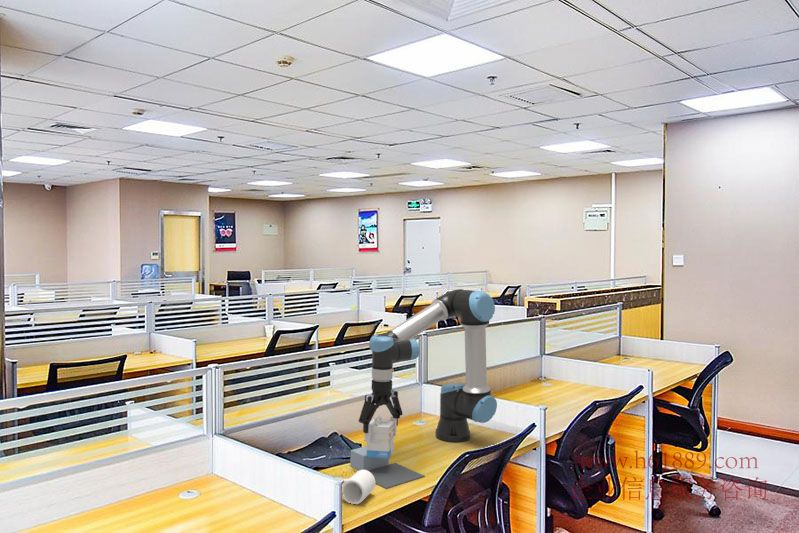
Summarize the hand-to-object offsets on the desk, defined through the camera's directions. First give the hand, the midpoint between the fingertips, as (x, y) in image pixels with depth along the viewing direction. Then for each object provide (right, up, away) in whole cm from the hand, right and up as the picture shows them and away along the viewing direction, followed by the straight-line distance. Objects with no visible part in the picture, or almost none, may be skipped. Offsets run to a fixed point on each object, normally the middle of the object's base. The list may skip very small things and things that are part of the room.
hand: (380, 438), depth 228 cm
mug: (-8, -13, -24) cm, 28 cm away
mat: (+4, -12, -4) cm, 14 cm away
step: (-4, -12, +5) cm, 13 cm away
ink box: (0, -6, 0) cm, 6 cm away
